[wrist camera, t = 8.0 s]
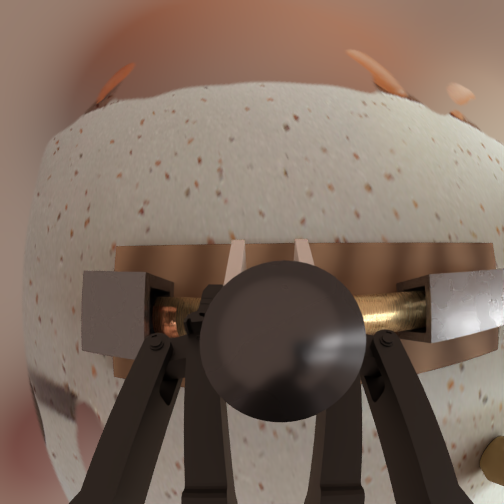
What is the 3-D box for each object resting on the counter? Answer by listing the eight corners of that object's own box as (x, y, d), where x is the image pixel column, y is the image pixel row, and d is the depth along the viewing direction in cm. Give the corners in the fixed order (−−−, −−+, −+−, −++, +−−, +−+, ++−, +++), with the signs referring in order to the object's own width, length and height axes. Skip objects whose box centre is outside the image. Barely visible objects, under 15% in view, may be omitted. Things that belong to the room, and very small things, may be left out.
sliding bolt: (443, 289, 22) (596, 246, 4) (444, 322, 22) (600, 309, 3) (167, 297, 24) (-15, 254, 5) (166, 335, 23) (-17, 359, 5)
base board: (485, 245, 26) (492, 243, 25) (490, 348, 23) (497, 349, 22) (122, 249, 28) (116, 246, 27) (120, 374, 25) (114, 376, 24)
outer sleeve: (488, 275, 24) (521, 266, 18) (490, 320, 23) (524, 317, 17) (396, 283, 25) (429, 274, 18) (397, 338, 23) (431, 343, 17)
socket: (174, 282, 26) (145, 271, 19) (173, 350, 24) (144, 361, 18) (121, 281, 26) (83, 270, 19) (120, 344, 24) (82, 350, 18)
